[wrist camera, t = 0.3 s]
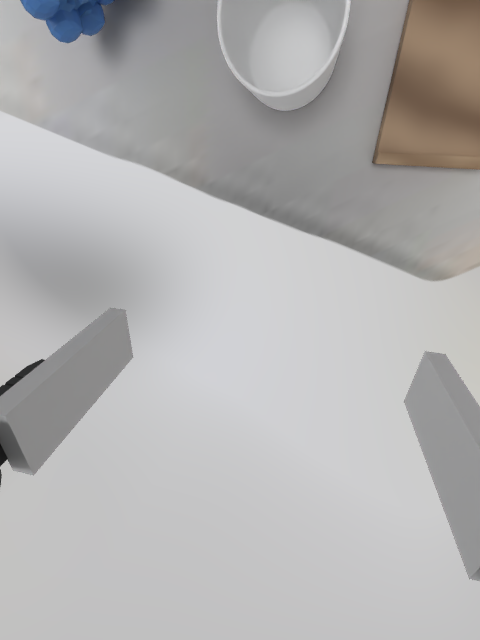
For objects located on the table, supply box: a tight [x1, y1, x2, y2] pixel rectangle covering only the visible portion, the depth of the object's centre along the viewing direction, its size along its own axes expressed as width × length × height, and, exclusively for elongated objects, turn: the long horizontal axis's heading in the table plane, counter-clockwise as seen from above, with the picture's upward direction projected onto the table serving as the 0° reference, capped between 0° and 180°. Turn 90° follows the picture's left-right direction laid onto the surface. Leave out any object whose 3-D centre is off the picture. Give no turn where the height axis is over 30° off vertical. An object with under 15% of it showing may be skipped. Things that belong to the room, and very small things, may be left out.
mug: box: [217, 0, 351, 111], centre depth 24 cm, size 9×12×11 cm
